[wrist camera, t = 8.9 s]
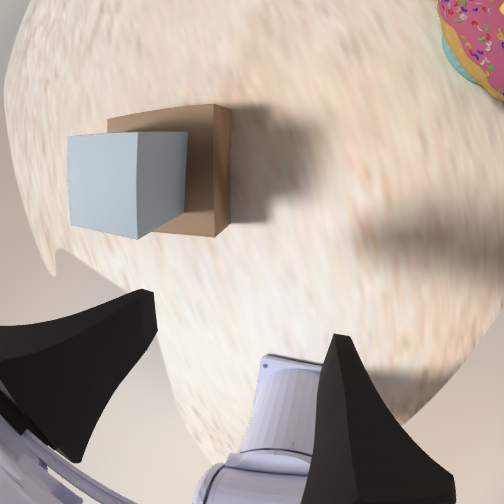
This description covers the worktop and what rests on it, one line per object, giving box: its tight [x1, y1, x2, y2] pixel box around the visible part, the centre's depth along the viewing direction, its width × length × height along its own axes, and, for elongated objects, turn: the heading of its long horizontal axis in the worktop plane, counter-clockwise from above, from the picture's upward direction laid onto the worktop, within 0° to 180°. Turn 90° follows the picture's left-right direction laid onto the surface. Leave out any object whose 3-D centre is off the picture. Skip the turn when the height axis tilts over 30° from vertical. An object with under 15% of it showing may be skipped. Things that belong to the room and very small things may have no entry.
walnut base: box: [108, 104, 231, 237], centre depth 18 cm, size 8×8×4 cm
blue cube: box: [67, 131, 188, 240], centre depth 14 cm, size 5×5×5 cm
